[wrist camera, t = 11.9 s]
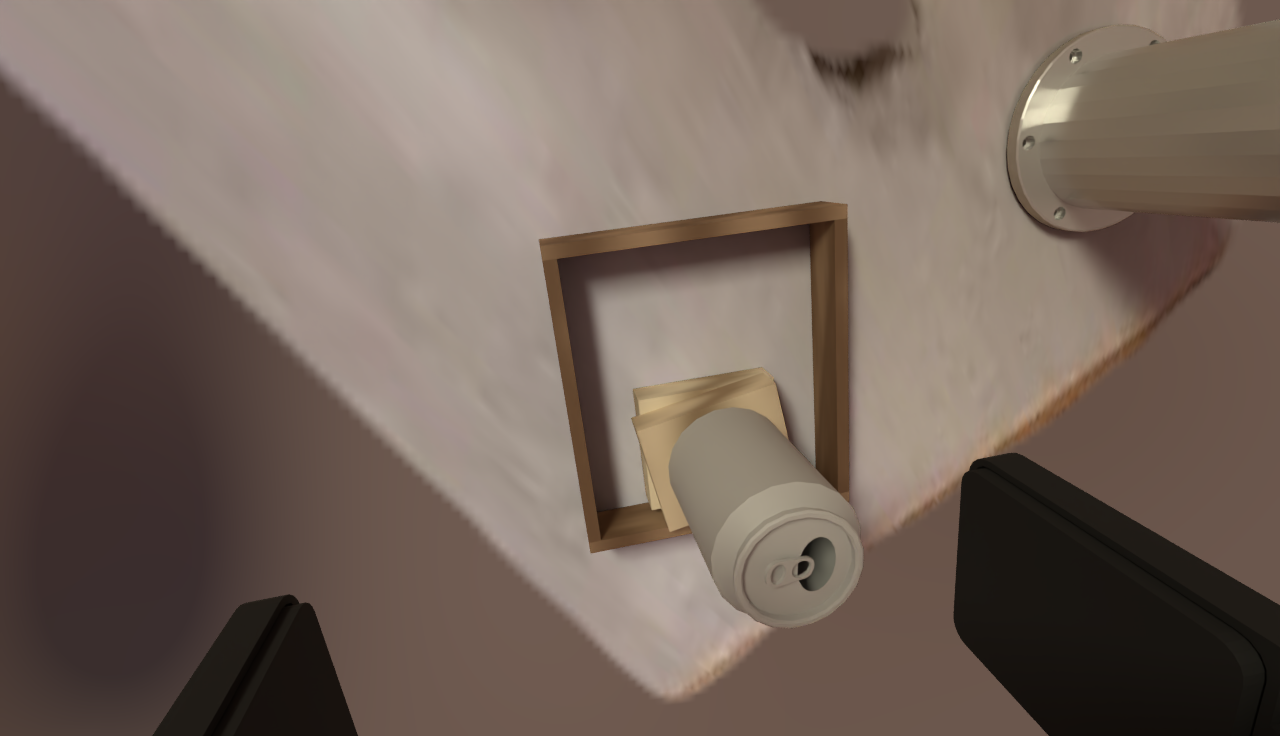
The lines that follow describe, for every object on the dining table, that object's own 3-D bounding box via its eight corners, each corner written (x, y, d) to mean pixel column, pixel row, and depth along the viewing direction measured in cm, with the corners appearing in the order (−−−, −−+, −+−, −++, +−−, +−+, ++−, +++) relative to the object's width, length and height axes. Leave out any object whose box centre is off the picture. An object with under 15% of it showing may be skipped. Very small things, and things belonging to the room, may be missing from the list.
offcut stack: (769, 359, 42) (795, 380, 38) (775, 475, 45) (800, 506, 41) (623, 383, 41) (633, 407, 37) (638, 501, 44) (650, 536, 40)
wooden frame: (821, 201, 40) (847, 204, 36) (826, 478, 46) (848, 501, 43) (538, 239, 37) (539, 246, 34) (586, 524, 44) (590, 553, 41)
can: (773, 507, 41) (866, 636, 30) (662, 513, 40) (715, 650, 28) (786, 400, 39) (892, 496, 27) (668, 403, 37) (728, 504, 26)
